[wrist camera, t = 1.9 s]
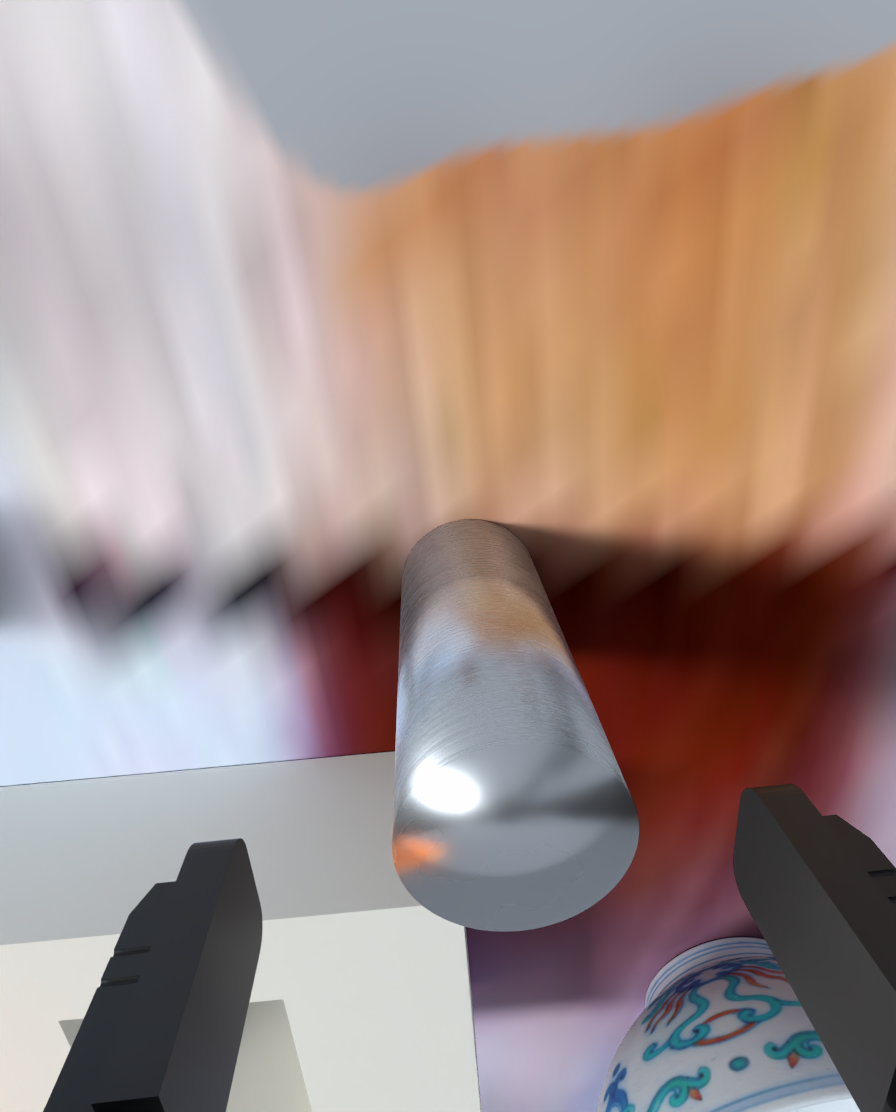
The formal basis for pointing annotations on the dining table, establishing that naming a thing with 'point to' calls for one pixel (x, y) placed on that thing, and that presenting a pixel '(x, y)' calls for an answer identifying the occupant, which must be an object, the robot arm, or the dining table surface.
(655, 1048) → the chinaware
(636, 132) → the dining table surface
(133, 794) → the hole block
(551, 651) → the long pin
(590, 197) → the dining table surface
